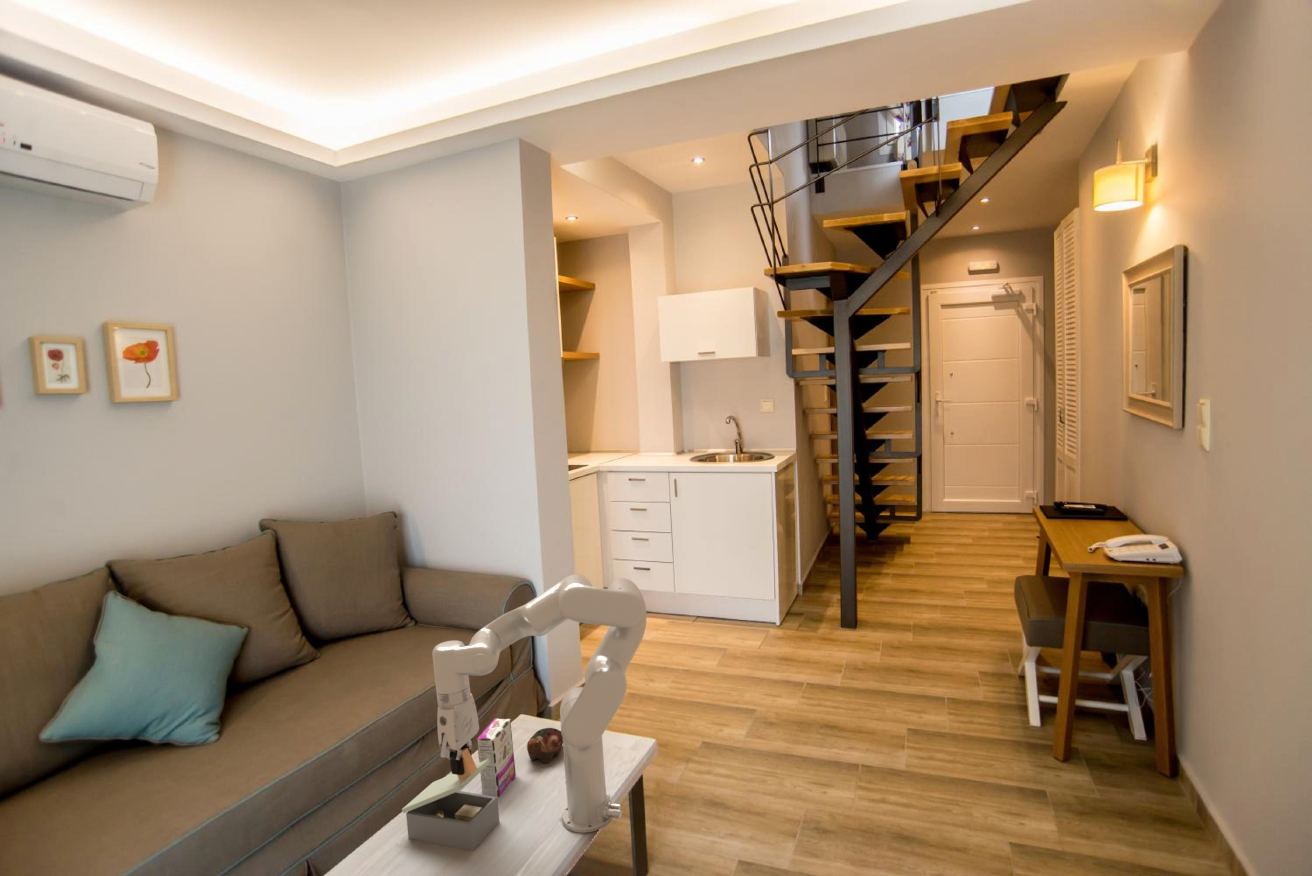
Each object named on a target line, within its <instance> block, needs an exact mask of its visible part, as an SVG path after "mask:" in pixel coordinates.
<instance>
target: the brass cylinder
mask: <svg viewBox="0 0 1312 876" xmlns="http://www.w3.org/2000/svg"><path fill="white" fill-rule="evenodd" d="M428 815H432V816H438V817H443V818H444V812H443V811H442V810H435V811H432V812H430V813H429V814H428Z"/></svg>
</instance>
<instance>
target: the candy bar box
mask: <svg viewBox="0 0 1312 876" xmlns="http://www.w3.org/2000/svg"><path fill="white" fill-rule="evenodd" d="M512 734H513V733H512V724H511V718H497V717H496V718H494V719H493V720H492V721H491V722H490V723H489V725H488V726H487V727H485V729H484V730H483V732H482V733H481V734H480V735H479V736H478V737H477V738H476V742H477V753H478V754H477V755H478V763H480V762H482V761H485V760H487V759H489V761H490V763H489V764H488V765H487V766H486V767H485V768H484V769H483V770H482V771H481V772H480V773H479V774H480V781H481V789H482V790H481V791H482V795H488V796H494V797H497V798H499V797H500V796H501V795H502V794H503V792H504V791H505V790H506V788H507V787H508V786H509V784H510V782H511V781H513V780H514V779H515V777H516V776H517V773H516V764H515V763H516V762H515V754H514V743H513V742H514V741H513V735H512Z"/></svg>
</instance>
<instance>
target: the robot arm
mask: <svg viewBox="0 0 1312 876" xmlns="http://www.w3.org/2000/svg"><path fill="white" fill-rule="evenodd" d="M646 608H647V607H646V602H645V599H644V597H643V595H642V592H641V590H640V588H639V587H638V585H637V584H636V583H635V582H634V581H632V580H630V579H628V578H625V577H624V578H623V577H622V578H617V579H615V580H614V581H612V582H611V583H610V585H608V587H607V588H604V587H603V588H601V587H595V586H593V584H592V583H591V581H590V580H589V579H588V577H586V576H585V575H582V574H578V573H574V574H571V575H568V576H566V577H565V578H563V579H561V580H560V581H559V582H557V583H555V584H554V585H552V586H551V587H549V588H547V590H545V591H544V592H542V593H541V594H539V595H537V596H536V597H535V598H533V599H531V600H530V601H528V602H527V603H525V604H524V605H521V606H519V607H517V608H515V609H512V610H510V611H508V612H506V613H504V614H502V615H499V617H497V618H496V619H494V620H492V621H491V622H490V623H488V624H486V625H485V626H484V627H482V628H480V629H479V630H478V631H477V632H476V633H474V635H473V636H472V638H471V640H470V641H469V644H468V645H465V643H464V642H463V641H460V640H456V639H454V640H447V641H442V642H440V643H438V644H437V645H435V647H434V648H433V649H432V653H431V654H432V663H433V672H434V681H435V691H436V698H437V706H438V707H437V714H436V715H437V716H436V717H437V718H436V719H437V723H436V724H437V739H438V745H439V748H440V758H447V759H448V760H449V761H450V762H449V763H450V771H451V772H450V773H451V774H456V775H463V774H464V765H463V758H461V752H460V751H461V750H463V749H466V748H468V750H469V752H470V754H471V755H472V748H473V744H472V743H473V739H474V737H475V736H476V735H477V734H478V733H479V730H480V725H479V717H478V712H477V711H478V710H477V705H476V702H475V699H474V695H473V694H472V692H471V687H470V676H485V675H489V674H490V673H492V672H493V671H494V670H495V669H496V667H497V666H498V663H499V660H500V659H499V658H500V653H501V652H502V651H503V650H505V649H506V648H508V647H510V646H511V645H513V644H514V643H516V642H517V641H519V640H521V639H523V638H525V637H531V636H532V637H534V636H535V637H542V636H545V635H547V634H548V633H549V632H551V631H552V630H554V629H555V628H557V627H558V626H560V625H561V624H563V623H564V622H566V621H567V620H571V621H573V622H578V623H581V624H582V623H583V624H588V625H589V624H590V625H597V626H605V627H608V628H607V631H606V633H605V635H604V636H603V638H602V640H601V641H600V643H599V645H598V646H597V648H596V650H595V652H594V653H593V654H592V656H591V658H590V659H589V660H588V662H587V664H586V666H585V669H584V672H583V673H584V674H583V675H584V686H578V687H574V688H572V689H570V690H568V691H567V693H566V694H564V697H563V698H562V701H561V702H560V703H561V704H560V707H559V712H560V713H559V715H560V716H559V717H560V718H559V719H560V721H559V722H560V731H561V733H562V737H563V744H562V746H563V747H562V748H563V763H564V777H565V786H566V787H565V790H566V803H567V804H566V805H567V806H566V807H565V808H564V810H563V811H562V814H561V821H562V825H564V827H565V828H566V829H568V830H569V831H572V832H575V833H580V834H581V833H583V834H586V833H593V832H595V831H598V830H601V829H603V828H604V827H606V826H607V825H609V824H610V823H611V822H612V820H613V819H619V820H621V818H622V815H623V811H622V809H621V808H622V805H621V804H619V803H613V802H612V800H611V795H610V794H607V789H606V788H607V787H606V775H605V774H606V771H605V759H604V746H603V745H604V743H603V734H604V733H605V731H606V730H607V728H608V727H609V725H610V724H611V722H612V720H613V718H614V716H615V715H616V714H617V711H618V710H619V709H620V707H621V705H622V703H623V701H624V698H625V696H626V694H627V693H626V692H627V688H628V687H627V686H628V685H627V678H626V671H627V670H628V669H627V668H628V667H629V665H630V663H631V661H632V660H633V658H634V657H635V655H636V652H637V650H638V649H639V648H640V644H641V642H642V640H643V639H644V634H645V631H646V625H647V609H646ZM453 750H454V751H453Z"/></svg>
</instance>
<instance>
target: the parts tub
mask: <svg viewBox="0 0 1312 876" xmlns="http://www.w3.org/2000/svg"><path fill="white" fill-rule="evenodd" d="M465 804H466V805H471V806H477V807H482V810H481V811H480V812H479V813H478V814H477V815H476V816H475V817H474V818H473V819H472V821H471V822H465V821H460V820H455V814H456V813H457V812H458V811H459V810H460V809H461V808H462V807H463V806H464V805H465ZM435 810H442V811H443V812H444V818H443V817H438V816H432V815H428V814H429V813H430V812H432V811H435ZM405 816H406V827H407V837H408V840H413V841H419V842H424V843H428V844H429V843H430V844H435V845H440V846H444V847H451V848H456V849H460V850H465V851H471V852H474V850H475V849H477V847H478V846H480V844H481V843H482V842H483V841H484V840H485V838H487V836H488V835H489V834H490V833H491V832H492V831H493V829H494V828H495V827H496V826H497V825H498V824H500V813H499V801H498V797H494V796H488V795H483V794H481V793H475V792H470V791H469V792H467V791H462V790H460V791H457V792H455V793H452V794H450V795H448V796H445V797H443V798H440V799H438V800H435V801H433V802H430V803H428V804H425V805H423V806H420V807H418V808H415V809H413V810H410V811H408V812H406V813H405Z"/></svg>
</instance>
